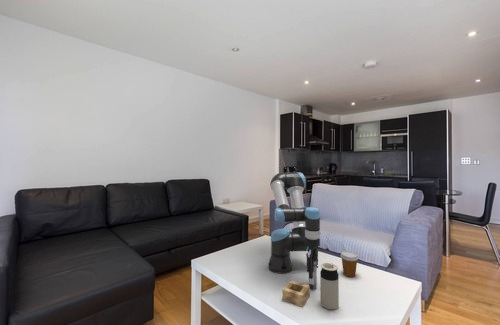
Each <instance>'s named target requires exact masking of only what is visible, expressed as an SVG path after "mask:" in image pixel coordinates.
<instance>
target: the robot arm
mask: <svg viewBox="0 0 500 325" xmlns="http://www.w3.org/2000/svg"><path fill="white" fill-rule="evenodd" d="M306 182H307V181H306V177H305V175H304V174H303V172H298V171H296V172H279V173H276V174H275V175H274V176H273V177H272V178H271V180H270V185H269V186H270V188H271V191H272V193H273V197H274V200H275V202H274V203H275V206H276V208H274V220H275V222H280V223H289V222H291V223H293V224H292V225H293V227H292V228H291V231H290V229H288V228H277V229H275V230H273V231H272V232H271V234H270V257H269V261H268V263H267V264H268V266H267V267H268V269H269V270H270V271H271V272H273V273H276V274H288V273H290V272H292V271H293V269H294V268H293V267H294V266H293V265H294V264H293V262H292V259H291V252H307V253H306V254H305V256H306V272H307V273H308V285H309V284H312V285H314V272H313V269H314V260H315V261H316V262H317V269H319V264H318V263H319V247H320V245H321V234H322V232H320V231H321V211H320V209H319V208H318V207H313V206H308V207H307V206H305V203H304V197H303V196H304V195H303V192H304V190H305V188H306V187H307V185H306V184H307V183H306ZM285 189H286V190H285ZM286 191H287V193H288V194H289V197H290V198H289V199H290V205H289V201H288V197H287V194H286Z"/></svg>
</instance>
